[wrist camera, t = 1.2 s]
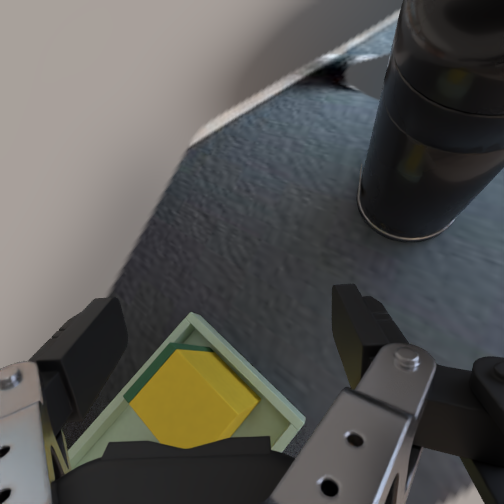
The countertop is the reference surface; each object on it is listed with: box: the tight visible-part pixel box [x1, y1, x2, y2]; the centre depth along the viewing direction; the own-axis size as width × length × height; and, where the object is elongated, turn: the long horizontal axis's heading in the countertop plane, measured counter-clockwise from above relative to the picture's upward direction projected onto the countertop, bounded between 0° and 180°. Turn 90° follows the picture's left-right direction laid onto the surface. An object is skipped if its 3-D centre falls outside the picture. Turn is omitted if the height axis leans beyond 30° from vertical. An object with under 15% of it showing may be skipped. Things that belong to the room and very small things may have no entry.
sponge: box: [123, 342, 261, 449], centre depth 26 cm, size 5×7×9 cm
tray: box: [68, 312, 306, 470], centre depth 28 cm, size 22×14×3 cm, turn 138°
